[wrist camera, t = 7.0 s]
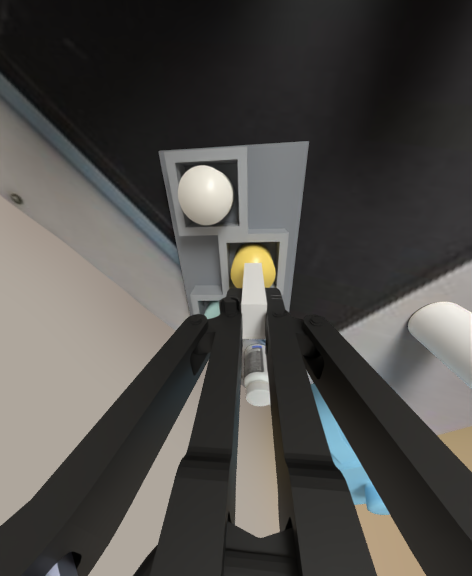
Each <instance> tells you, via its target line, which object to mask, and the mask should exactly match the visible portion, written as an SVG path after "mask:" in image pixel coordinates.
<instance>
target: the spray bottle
mask: <svg viewBox="0 0 472 576" xmlns="http://www.w3.org/2000/svg"><path fill="white" fill-rule="evenodd" d="M408 330H409V331H410V333H411V334H412V335H413V336H414V337H415V338H416V339H417V340H418V341H419V342H420V343H421V344H423V345H424V346H425V347H426V348H427V349H428V350H429V351H430V352H431V353H432V354H434V355H435V356H436V357H437V358H438V359H439V360H440V361H441V362H442V363H443V364H445V365H446V366H447V367H448V368H449V369H450V370H451V371H452V372H453V373H454V374H456V375H457V376H458V377H459V378H460V379H461V380H462V381H463V382H464V383H465V384H467V385H468V386H469V387H470V388H471V389H472V313H471V312H469V311H468V310H466V309H464V308H462V307H461V306H459V305H457V304H455V303H451V302H436V303H432V304H429V305H427V306H425V307H422V308H421V309H419V310H418V311H417V312H415V313H414V314H413V316H412V317H411V318H410V320H409V322H408Z"/></svg>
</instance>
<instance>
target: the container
mask: <svg viewBox="0 0 472 576" xmlns="http://www.w3.org/2000/svg"><path fill="white" fill-rule="evenodd" d="M311 388H312V392H313V395H314V399H315V402H316V405H317V409H318V412H319V416H320V419H321V422H322V426H323V429H324V433H325V436H326V439H327V443H328V446H329V449H330V453H331V456H332V459H333V462H334V464H335V466H336V467H337V468H338V469H339V470H340V471H341V472H342V474H343V476H344V478H345V480H346V482H347V485H348V488H349V490H350V493H351V496H352V499H353V502H354V505H357V504H367V509H368V511H370V512H372V513H375V514H380V515H389V514H390V513H389V512H388V510H387V508H386V506H385V505H384V503H383V501H382V500H381V498H380V496H379V494H378V493H377V491H376V489H375V487H374V486H373V484H372V482H371V481H370V479H369V477H368V475H367V474H366V472H365V470H364V468H363V467H362V465H361V463H360V462H359V460H358V458H357V456H356V455H355V453H354V451H353V449H352V448H351V446H350V444H349V443H348V441H347V439H346V437H345V436H344V434H343V432H342V430H341V429H340V427H339V425H338V424H337V422H336V420H335V418H334V417H333V415H332V413H331V411H330V410H329V408H328V406H327V405H326V403H325V401H324V399H323V398H322V396H321V394H320V392H319V391H318V389H317V387H316V386H315V384H314V383H313V384H311Z"/></svg>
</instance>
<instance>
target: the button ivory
mask: <svg viewBox="0 0 472 576" xmlns="http://www.w3.org/2000/svg"><path fill="white" fill-rule="evenodd" d="M178 199H179V203H180V206H181V208H182V210H183V212H184V213H185V214H186V216H187V217H188V218H189V219H191V220H192V221H194V222H196V223H198V224H201V225H212V224H215V223H217V222H219V221H221V220H222V219H223V218H224V217H225V216H226V215H227V214H228V212H229V211H230V210H231V208H232V206H233V204H234V199H235V192H234V188H233V185H232V183H231V181H230V179H229V178H228V177H227V176H226V175H225V174H223V173H222V172H220V171H218V170H216V169H214V168H212V167H209V166H205V165H200V166H195V167H193V168H191V169H189V170H188V171H187V172H186V173H185V174H184V175H183V176H182V178H181V180H180V183H179V186H178Z"/></svg>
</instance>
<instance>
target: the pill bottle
mask: <svg viewBox="0 0 472 576" xmlns="http://www.w3.org/2000/svg"><path fill="white" fill-rule="evenodd" d="M244 386H245V388H246V400H247V401H248V402H249V403H250V404H252V405H254V406H266V405H269V404H270V392H269V380H268V369H267V357H266V354H265V346H264V345H261V344H253V345H251V346H249V347H248V348H247V349H246V350H245V358H244Z"/></svg>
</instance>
